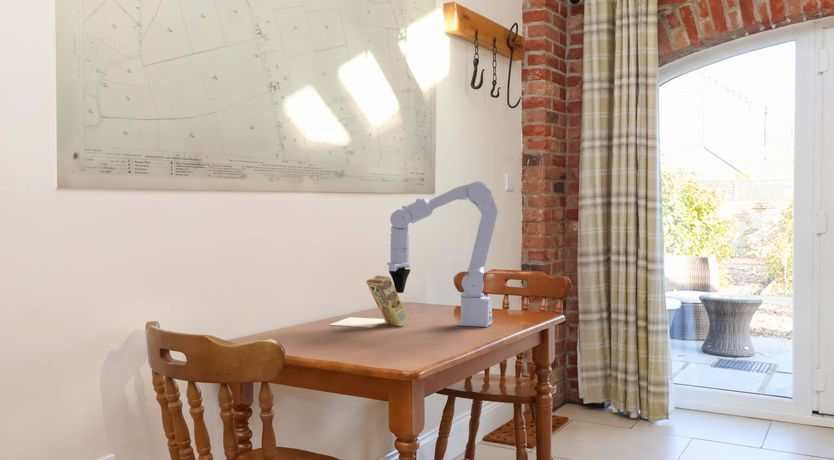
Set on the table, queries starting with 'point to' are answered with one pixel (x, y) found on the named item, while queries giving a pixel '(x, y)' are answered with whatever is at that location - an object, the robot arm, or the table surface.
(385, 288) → the candy box
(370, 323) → the placemat
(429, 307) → the table surface
